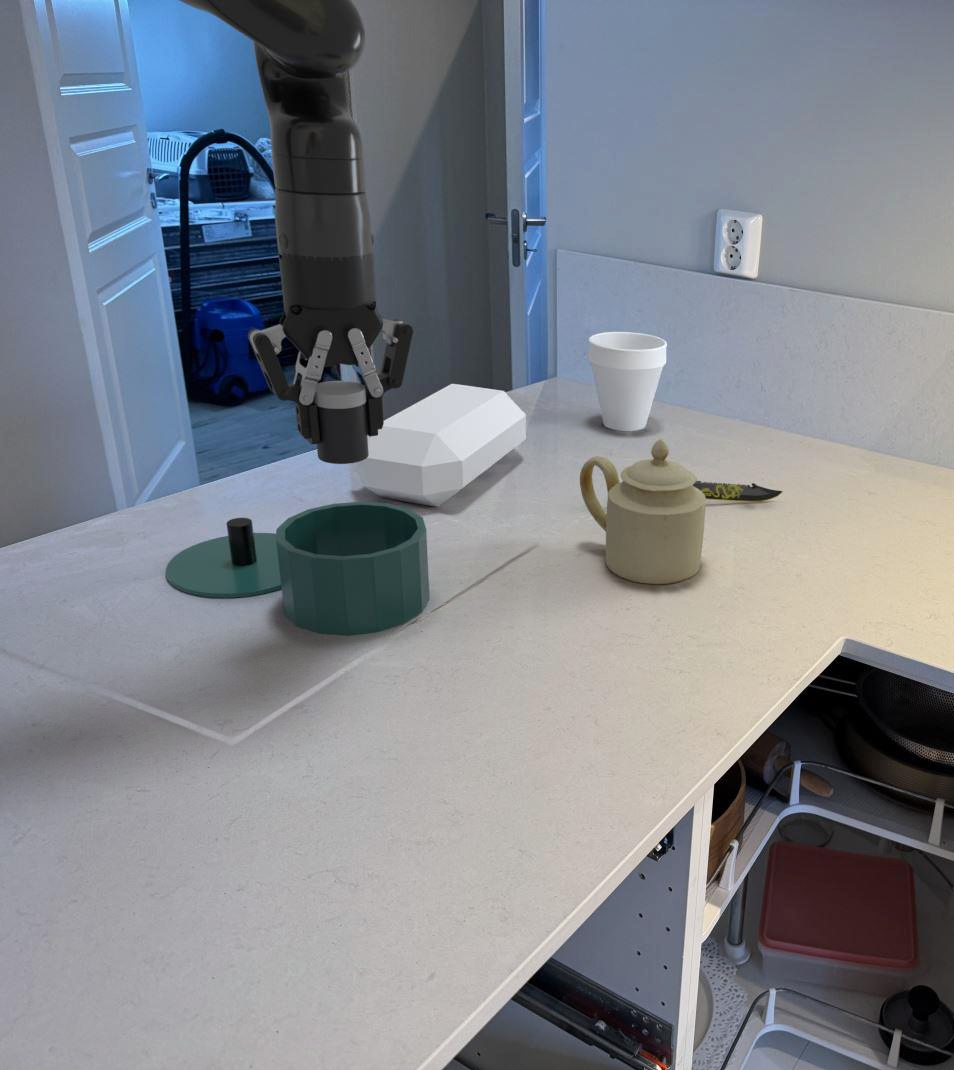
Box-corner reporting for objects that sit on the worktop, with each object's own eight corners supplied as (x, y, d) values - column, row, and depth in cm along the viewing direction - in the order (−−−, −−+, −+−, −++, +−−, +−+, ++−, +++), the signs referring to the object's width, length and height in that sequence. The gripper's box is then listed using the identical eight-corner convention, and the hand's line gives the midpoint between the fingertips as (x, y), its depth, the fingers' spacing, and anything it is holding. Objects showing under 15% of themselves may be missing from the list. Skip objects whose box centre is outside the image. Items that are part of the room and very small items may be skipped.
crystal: (334, 429, 118) (442, 374, 143) (340, 504, 122) (444, 437, 147) (447, 446, 116) (536, 387, 141) (449, 522, 120) (536, 451, 145)
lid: (134, 580, 101) (125, 530, 98) (248, 531, 113) (242, 485, 111) (242, 616, 96) (235, 564, 94) (349, 561, 108) (345, 514, 106)
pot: (253, 616, 96) (243, 537, 92) (352, 564, 108) (346, 492, 104) (365, 654, 91) (358, 571, 88) (456, 595, 103) (453, 520, 100)
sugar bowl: (562, 576, 109) (564, 447, 103) (581, 536, 119) (583, 416, 113) (697, 589, 108) (707, 460, 102) (704, 547, 118) (713, 428, 112)
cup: (631, 442, 152) (635, 354, 146) (570, 424, 157) (571, 339, 152) (677, 424, 161) (683, 341, 156) (618, 408, 167) (621, 327, 161)
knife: (775, 514, 136) (783, 480, 134) (779, 518, 134) (787, 484, 133) (609, 505, 128) (615, 468, 126) (612, 509, 126) (617, 473, 125)
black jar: (305, 457, 90) (299, 388, 87) (341, 444, 94) (336, 377, 91) (345, 468, 88) (339, 398, 86) (380, 454, 92) (376, 386, 90)
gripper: (393, 237, 90) (403, 416, 97) (223, 240, 82) (248, 436, 89) (424, 251, 85) (433, 439, 92) (246, 255, 77) (270, 462, 84)
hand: (341, 436), depth 91 cm, fingers closed on black jar, 4 cm apart
